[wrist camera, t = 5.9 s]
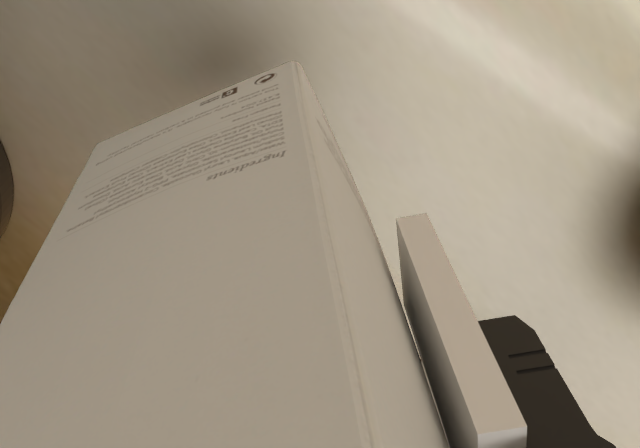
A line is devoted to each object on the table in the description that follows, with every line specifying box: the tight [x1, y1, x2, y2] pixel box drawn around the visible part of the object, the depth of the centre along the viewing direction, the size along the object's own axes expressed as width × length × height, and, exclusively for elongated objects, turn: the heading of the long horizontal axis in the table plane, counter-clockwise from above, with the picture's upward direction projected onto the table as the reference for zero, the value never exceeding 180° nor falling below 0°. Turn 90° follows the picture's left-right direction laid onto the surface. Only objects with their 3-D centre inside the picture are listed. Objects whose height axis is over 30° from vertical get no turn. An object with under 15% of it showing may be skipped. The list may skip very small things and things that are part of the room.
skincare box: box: [0, 61, 450, 448], centre depth 12 cm, size 8×7×16 cm
